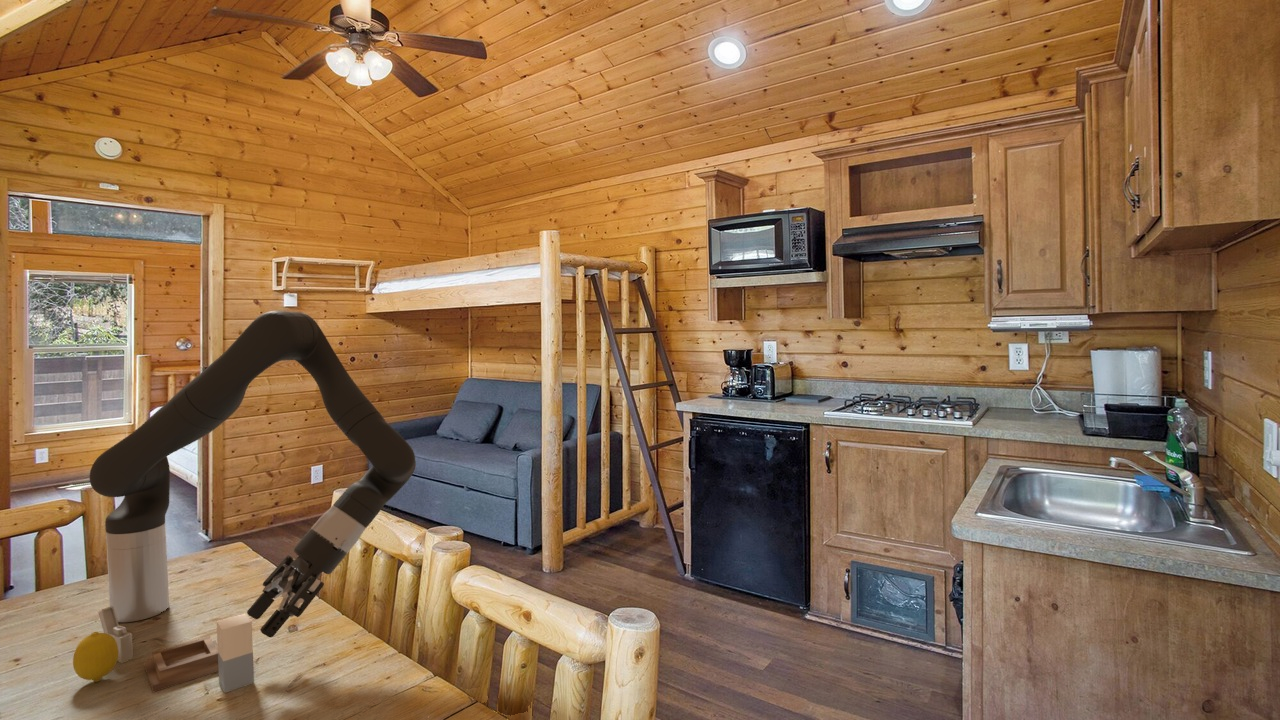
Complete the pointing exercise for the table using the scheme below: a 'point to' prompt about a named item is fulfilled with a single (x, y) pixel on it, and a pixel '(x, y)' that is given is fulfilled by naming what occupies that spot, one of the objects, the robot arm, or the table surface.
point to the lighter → (117, 633)
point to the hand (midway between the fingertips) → (258, 625)
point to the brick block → (235, 652)
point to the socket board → (182, 663)
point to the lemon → (95, 656)
